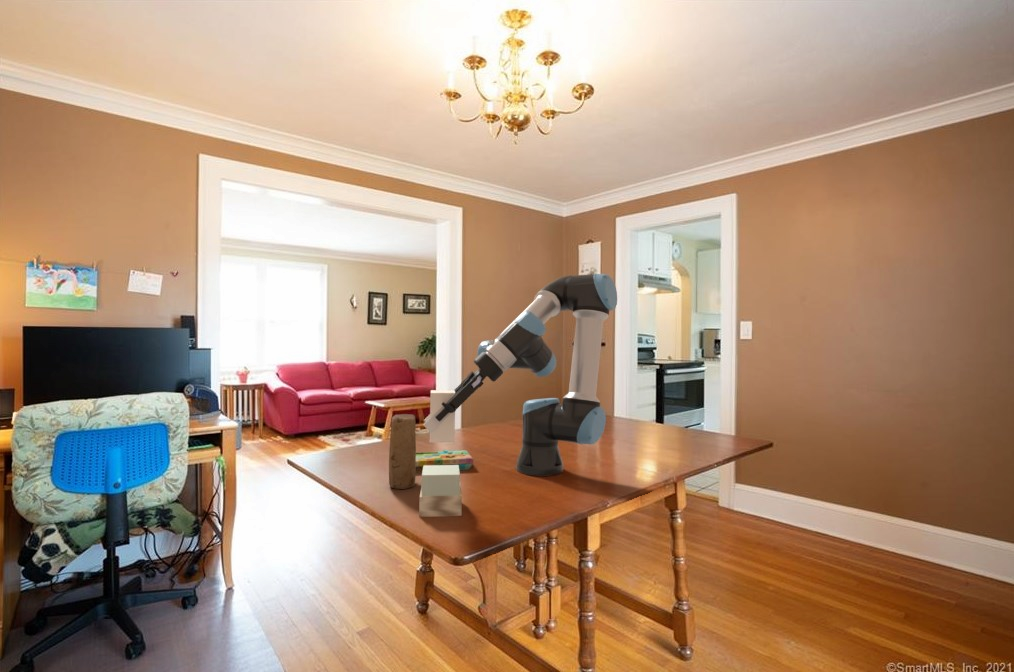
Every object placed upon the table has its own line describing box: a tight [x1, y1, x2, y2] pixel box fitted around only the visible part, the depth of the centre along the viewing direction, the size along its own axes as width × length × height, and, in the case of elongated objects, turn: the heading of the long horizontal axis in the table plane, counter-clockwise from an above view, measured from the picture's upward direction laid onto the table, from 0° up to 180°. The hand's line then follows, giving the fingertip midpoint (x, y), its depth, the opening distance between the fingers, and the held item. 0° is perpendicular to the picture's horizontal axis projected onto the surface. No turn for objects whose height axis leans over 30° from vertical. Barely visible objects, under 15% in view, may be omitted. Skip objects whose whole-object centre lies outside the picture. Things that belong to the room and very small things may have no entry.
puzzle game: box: [416, 449, 474, 472], centre depth 163 cm, size 12×5×20 cm
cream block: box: [429, 389, 456, 443], centre depth 124 cm, size 6×6×12 cm
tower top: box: [421, 465, 461, 496], centre depth 123 cm, size 9×9×5 cm
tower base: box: [418, 483, 463, 518], centre depth 123 cm, size 10×10×5 cm
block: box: [388, 413, 417, 490], centre depth 143 cm, size 11×8×20 cm
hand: (427, 426), depth 123 cm, fingers closed on cream block, 6 cm apart
